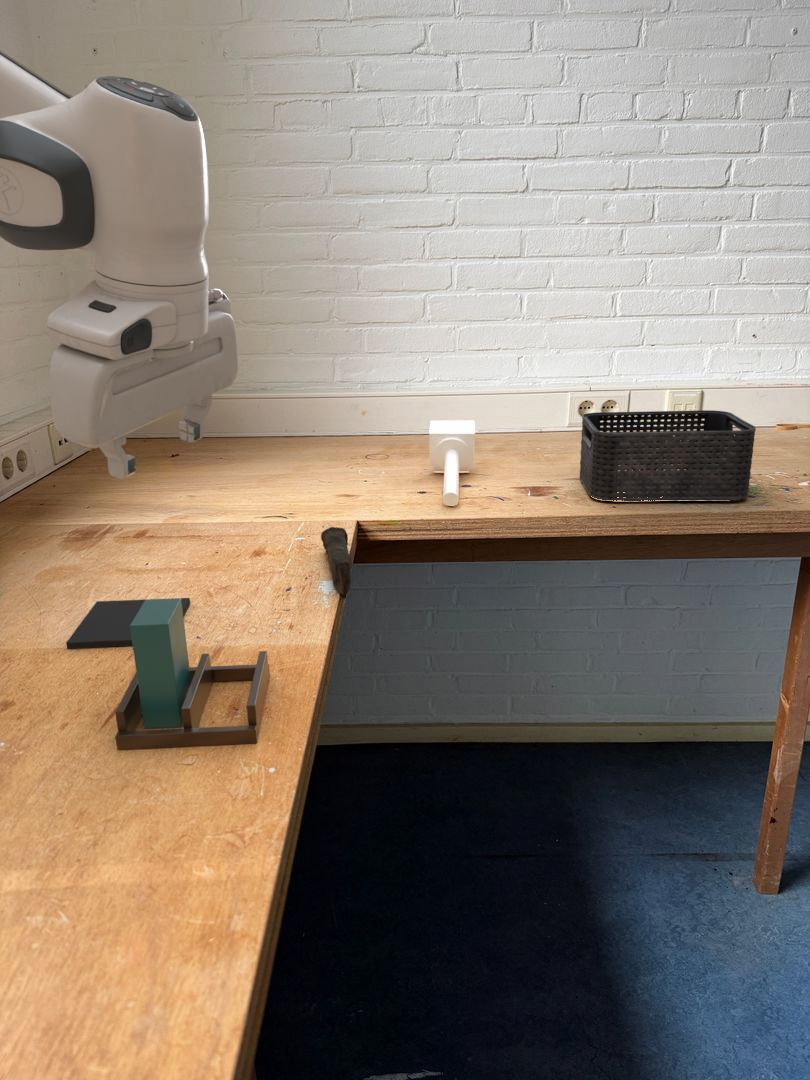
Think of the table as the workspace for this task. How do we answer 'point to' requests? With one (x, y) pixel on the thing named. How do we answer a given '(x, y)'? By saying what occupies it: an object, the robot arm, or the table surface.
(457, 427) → the paper towel holder
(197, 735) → the slot rack
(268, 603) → the table surface
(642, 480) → the storage bin
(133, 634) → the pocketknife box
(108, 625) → the rubber mat
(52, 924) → the table surface
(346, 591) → the hand tool
